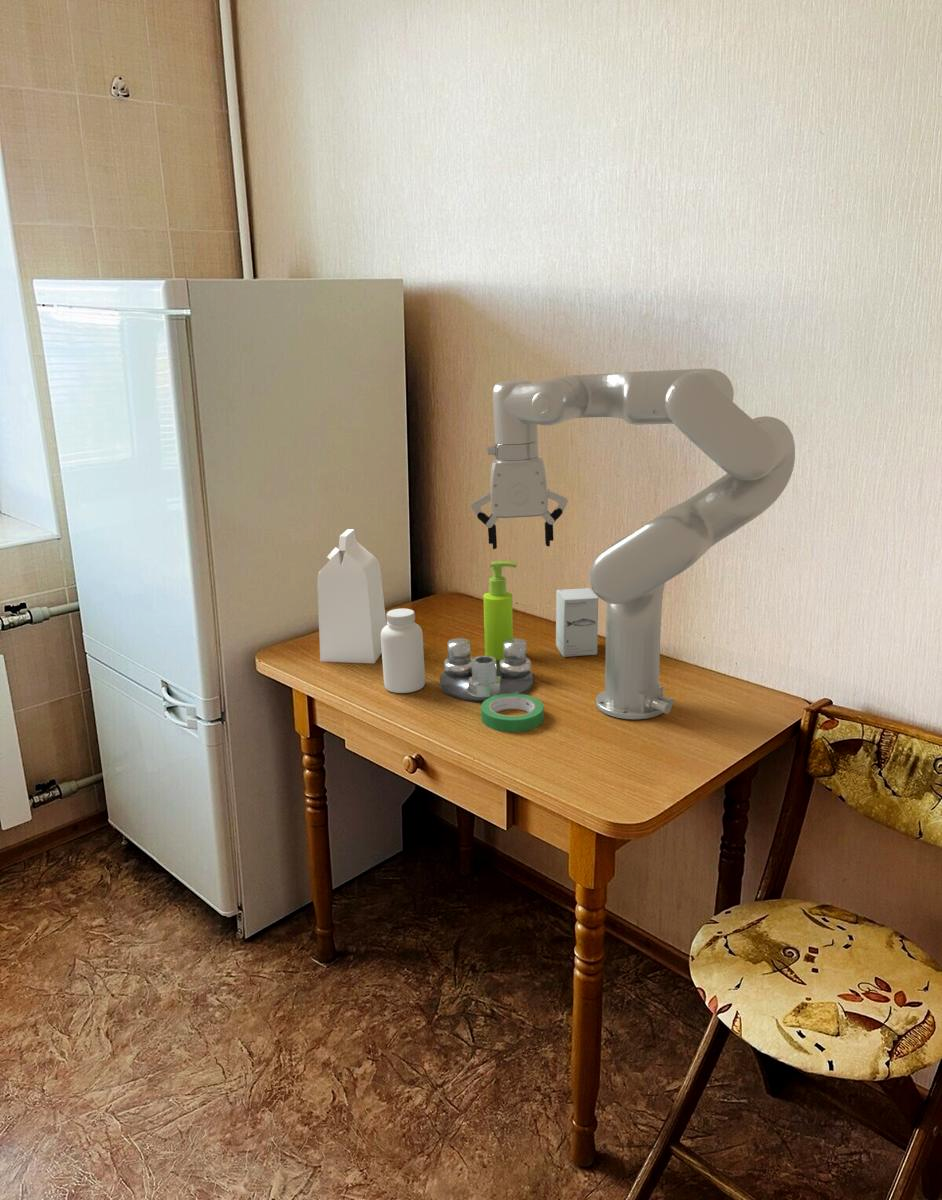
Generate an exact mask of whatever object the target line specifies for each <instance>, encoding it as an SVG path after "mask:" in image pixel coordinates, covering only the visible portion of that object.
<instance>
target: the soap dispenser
mask: <svg viewBox="0 0 942 1200" xmlns="http://www.w3.org/2000/svg"><path fill="white" fill-rule="evenodd" d="M502 567H509V568H516V567H518V563H517V562H514V561H509V560H500V561H498V560H497V561H490V568H492V570H493V571H492V576H491V577H489V579H488V580H489V581H488V583H489V584H488V585H489V587H488V589H489V591H488V592H487V591H486V593H484V594H483V626H484V627H483V631H484V632H483V634H484V637H483V638H484V639H483V640H484V656H492V657H494V658H496V660H501V659H503V658H504V641H505V640H508V639H514V631H513V630H514V629H513V627H514V626H513V624H514V622H513V621H514V619H513V615H514V614H513V594H512V593H511V592H509V591H507V578H506V577H504V576H503V575H502V574H503V573H502Z"/></svg>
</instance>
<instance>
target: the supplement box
mask: <svg viewBox="0 0 942 1200" xmlns="http://www.w3.org/2000/svg"><path fill="white" fill-rule="evenodd" d="M555 593H556V594H555V595H556V596H555V597H556V598H555V600H556V602H555V608H556V609H555V620H556V622H555V646H556V648H557V649H558V651H559V653H560V654H561V656H562V657H563V658H566V657H578V656H582V657H583V656H597V654H598V630H599V629H598V628H599V627H598V626H599V625H598V624H599V623H598V621H599V597H598V596H597V595H596V594H595V592H594V591H593V589H592V588H590V587H585V588H570V589H567V588H566V589H556V591H555Z"/></svg>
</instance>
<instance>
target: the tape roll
mask: <svg viewBox="0 0 942 1200" xmlns="http://www.w3.org/2000/svg"><path fill="white" fill-rule="evenodd" d="M505 710H520V711H525V712H527V713H524V714H519V715H506V714H501V713H498V712H501V711H505ZM544 710H545V707H544V703H543V702H542V701H541V700H540V699H538V698H537V697H534V696H532V695H529V694H512V693H511V694H500V695H496V696H493V697H490V698H488V699H486V700H485V701H484V702H481V705H480V712H481V713H480V714H481V715H480V717H481V718H480V719H481V722H482V723H483V725H484V726H486V727H487V728H490V729H492V730H495V731H497V732H498V731H500V732H504V733H505V732H507V733H515V732H516V733H519V732H524V731H529V730H533V729H535V728H537V727H539V726H540V725H541V724H542V723H543V722H544V720H545V719H544V718H545V717H544V715H545V712H544Z"/></svg>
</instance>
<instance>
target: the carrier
mask: <svg viewBox="0 0 942 1200" xmlns="http://www.w3.org/2000/svg"><path fill="white" fill-rule="evenodd" d="M472 658H473V657H472V655H471V641H470V639H467V638H463V637H462V638H461V637H460V638H459V637H458V638H451V639H450V640H448V641H447V658H446V659H445V660H444V661H443V665H444V666H443V668H444V670H443V672H442V673H441V674H440V677H439V687H441V688H440V689H441V690H442V692H443V693H444V694H446V695H447V696H449V697H452V698H453V699H456V700H457V699H458V700H460V701H466V702H472V703H473V702H475V703H483V702H484V701H485V700H486V699H488V698H490V697H493V696H496V695H500V694H511V693H512V694H524V695H526V693H528V692H529V691H530V690H531V689H532V688H533V686H534V675H533V673H532V671H531V669H532V667H531V666H532V665H531V664H532V663H531V659H529V658H528V657H527V641H526V640H525V639H522V638H513V639H508V640H505V641H504V658H503V659H501V660H496V673H497V676H498V677H500V681H501V689H500V693H498V694H495V695H493V696H475V695H473V694H471V693H469V686H468V682H469V677H472Z"/></svg>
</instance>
